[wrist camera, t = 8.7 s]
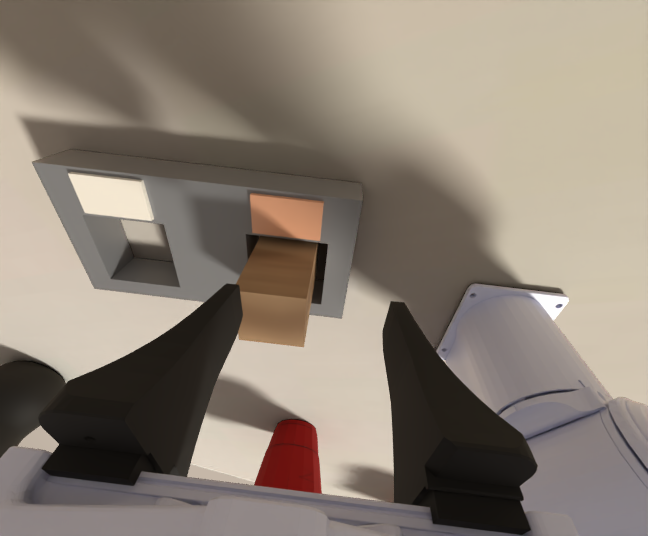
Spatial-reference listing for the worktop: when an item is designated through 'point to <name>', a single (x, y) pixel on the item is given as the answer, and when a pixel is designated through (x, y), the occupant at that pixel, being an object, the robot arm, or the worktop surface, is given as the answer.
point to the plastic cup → (292, 458)
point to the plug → (278, 291)
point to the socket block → (197, 221)
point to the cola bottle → (24, 399)
